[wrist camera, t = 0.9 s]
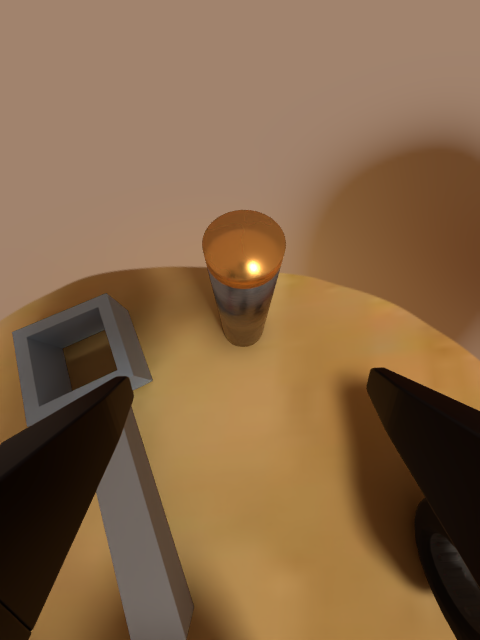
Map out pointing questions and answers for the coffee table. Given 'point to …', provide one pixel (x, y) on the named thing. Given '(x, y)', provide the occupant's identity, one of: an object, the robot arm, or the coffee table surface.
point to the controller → (447, 575)
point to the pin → (243, 270)
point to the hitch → (113, 465)
